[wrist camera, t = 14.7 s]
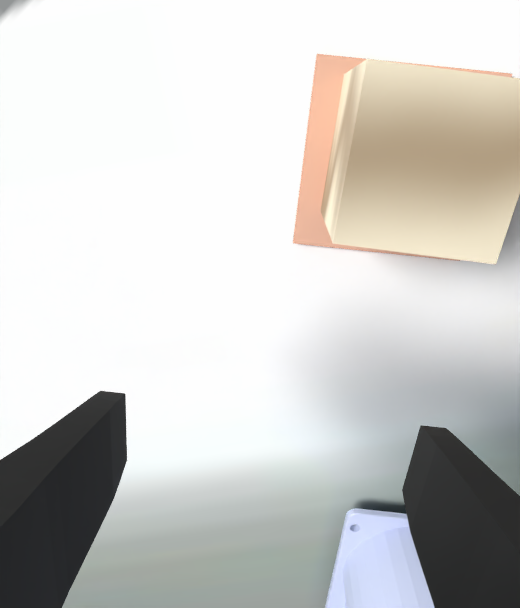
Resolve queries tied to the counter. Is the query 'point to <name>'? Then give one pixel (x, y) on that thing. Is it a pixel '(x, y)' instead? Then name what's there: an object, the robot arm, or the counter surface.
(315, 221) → the pad
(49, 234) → the counter surface
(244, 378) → the counter surface
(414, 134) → the block
